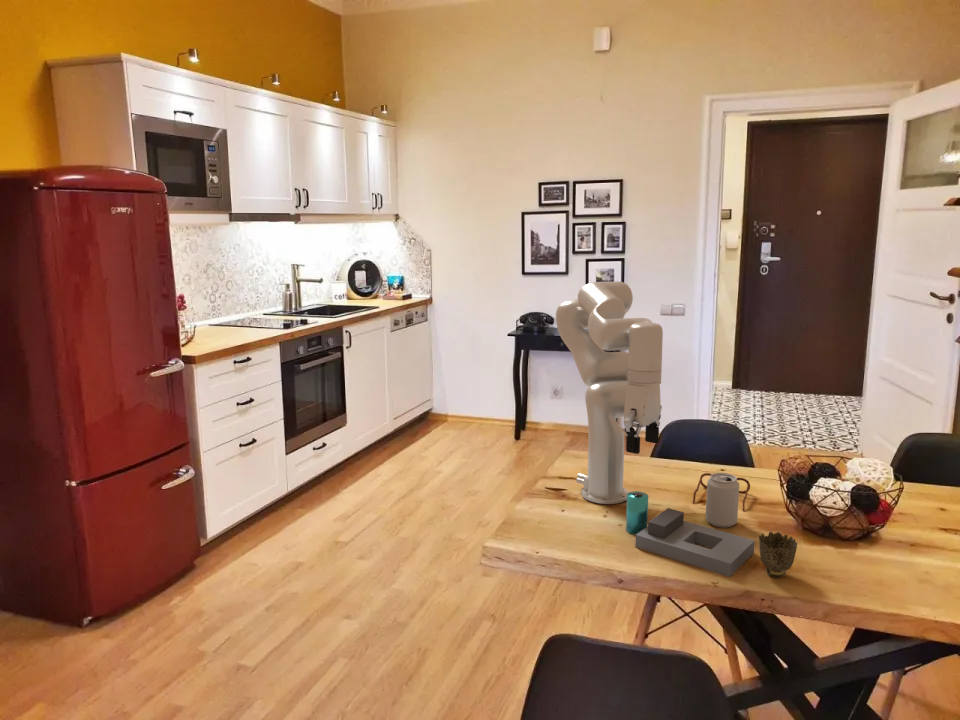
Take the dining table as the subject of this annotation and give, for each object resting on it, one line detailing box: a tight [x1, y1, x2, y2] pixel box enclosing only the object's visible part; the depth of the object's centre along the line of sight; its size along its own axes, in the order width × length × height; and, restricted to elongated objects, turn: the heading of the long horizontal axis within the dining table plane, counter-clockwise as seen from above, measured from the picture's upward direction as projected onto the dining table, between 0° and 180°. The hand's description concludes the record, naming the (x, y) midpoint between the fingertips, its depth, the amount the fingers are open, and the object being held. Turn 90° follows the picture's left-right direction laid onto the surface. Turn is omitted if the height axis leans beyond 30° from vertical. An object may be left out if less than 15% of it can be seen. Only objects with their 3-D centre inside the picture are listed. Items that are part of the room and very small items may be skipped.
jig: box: [634, 507, 756, 578], centre depth 160 cm, size 22×14×6 cm, turn 50°
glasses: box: [692, 472, 751, 512], centre depth 189 cm, size 13×13×5 cm
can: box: [704, 472, 740, 529], centre depth 173 cm, size 8×8×12 cm
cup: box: [758, 531, 798, 578], centre depth 148 cm, size 8×7×8 cm
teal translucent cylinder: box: [625, 490, 649, 536], centre depth 170 cm, size 5×5×9 cm
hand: (642, 447), depth 167 cm, fingers open, 9 cm apart
